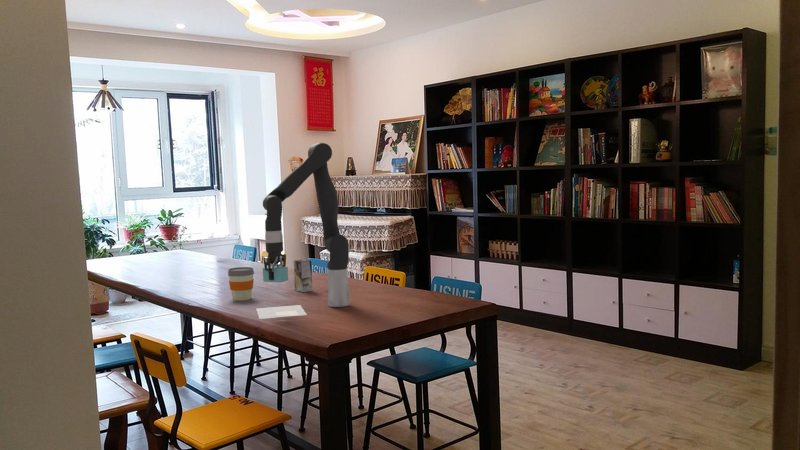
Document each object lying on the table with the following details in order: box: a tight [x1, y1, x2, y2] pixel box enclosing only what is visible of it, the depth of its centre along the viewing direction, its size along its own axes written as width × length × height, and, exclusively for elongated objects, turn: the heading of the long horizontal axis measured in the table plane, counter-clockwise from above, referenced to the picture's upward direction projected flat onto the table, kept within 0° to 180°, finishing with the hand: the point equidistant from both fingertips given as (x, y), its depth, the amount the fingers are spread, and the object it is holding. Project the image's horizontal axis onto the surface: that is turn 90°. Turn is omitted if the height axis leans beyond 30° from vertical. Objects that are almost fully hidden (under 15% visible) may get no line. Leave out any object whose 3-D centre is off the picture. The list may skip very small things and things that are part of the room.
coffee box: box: [293, 258, 313, 293], centre depth 323 cm, size 9×6×16 cm
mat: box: [255, 304, 308, 320], centre depth 270 cm, size 20×22×1 cm
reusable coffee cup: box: [227, 266, 255, 301], centre depth 304 cm, size 12×13×15 cm
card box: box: [262, 265, 289, 283], centre depth 269 cm, size 9×6×6 cm, turn 67°
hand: (275, 278), depth 269 cm, fingers closed on card box, 6 cm apart
